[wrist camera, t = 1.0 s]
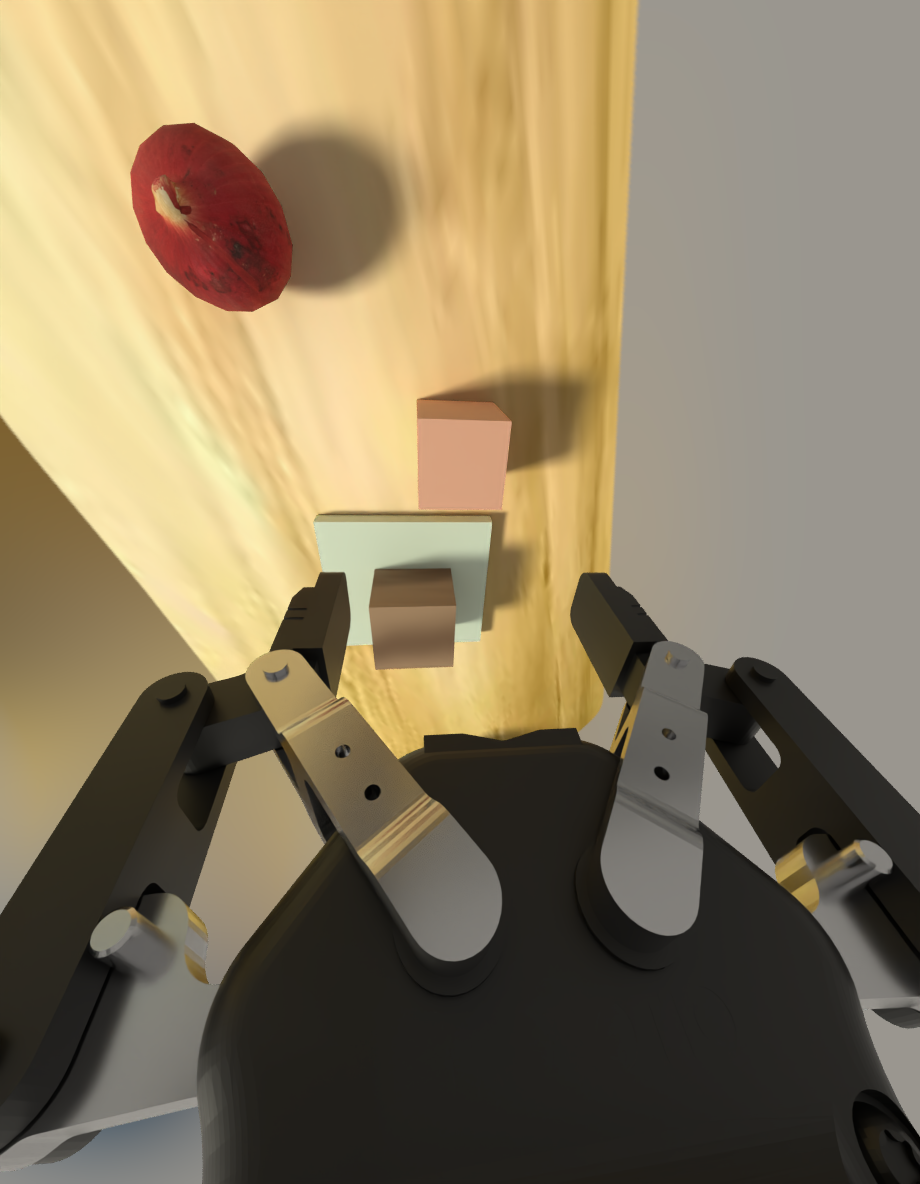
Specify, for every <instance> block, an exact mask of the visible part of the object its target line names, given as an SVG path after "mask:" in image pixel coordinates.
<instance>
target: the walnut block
mask: <svg viewBox="0 0 920 1184" xmlns="http://www.w3.org/2000/svg"><path fill="white" fill-rule="evenodd" d="M369 615H370V624H371V633H372V642H373V651H374V660H375V669H376V670H378V669H404V668H430V667H453V659H454V640H455V621H456V600H455V594H454V587H453V580H452V573H451V568H426V569H375V570H374V577H373V583H372V589H371V596H370V602H369Z"/></svg>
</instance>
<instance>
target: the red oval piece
mask: <svg viewBox="0 0 920 1184" xmlns="http://www.w3.org/2000/svg"><path fill="white" fill-rule="evenodd" d="M130 174H131V187H132V201H133V209H134V212H135V214H136V217H137V220H138V222H139V225H140V228H141V230H142V233H143V236H144V238H145V241H146V243H147V245H148V246H149V248H150V249H151V251H152V252H153V253H154V255H155V256H156V258H157V259H158V260H159V262H160V263H161V265H162V266H163V268H164V269H165V270H166V272H167V273H168V274H169V275H171V276H172V277H173V278H174V279H175V280H176V281H178V282H179V283H180V284H181V285H182V286H184V287H185V288H186V289H187V290H188V291H189V292H191V293H192V294H193V295H194V296H195V297H197V298H200V299H202V300H204V301H206V302H208V303H210V304H213V305H215V306H217V307H219V308H221V309H224V310H226V311H248V312H253V311H255V310H257V309H259V308H261V307H263V306H264V305H266V304H268V303H271V302H273V301H275V300H277V299H278V298H279V296H280V294H281V292H282V291H283V289H284V287H285V285H286V284H287V282H288V280H289V278H290V277H291V263H292V247H293V245H292V242H291V238H290V234H289V231H288V227H287V224H286V220H285V216H284V213H283V209H282V206H281V204H280V202H279V201H278V199H277V197H276V196H275V194H274V192H273V190H272V189H271V187H270V185H269V183H268V182H267V180H266V178H265V176H264V175H263V173H262V172H261V171H260V170H259V169H258V168H257V167H256V166H255V165H254V164H253V163H252V162H251V161H250V160H249V159H248V158H247V157H246V156H245V155H244V154H243V153H242V152H241V151H240V150H239V149H238V148H237V147H236V146H235V145H233V144H232V143H230V142H229V141H227V140H225V139H223V138H222V137H220V136H218V135H216V134H214V133H212V132H210V131H208V130H206V129H205V128H203V127H201V126H199V125H197V124H195V123H187V124H174V125H163V126H162V127H160V128H159V129H158V130H157V131H156V132H154V133H153V134H152V135H151V136H150V137H149V138H148V139H146V140H145V141H144V142H143V143H142V144H141V145H140V146H139V149H138V152H137V155H136V158H135V161H134V164H133V166H132V169H131V172H130Z"/></svg>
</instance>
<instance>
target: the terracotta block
mask: <svg viewBox="0 0 920 1184" xmlns="http://www.w3.org/2000/svg"><path fill="white" fill-rule="evenodd" d="M511 425H512V421H511V420H510V419H509V418H508V417H507V416H506V415H505V414H504V413H503V412H502V411H501V410H500V409H499V408H498V407H497V406H496V405H495V404H494V402H474V401H447V400H419V399H417V447H418V499H419V509H444V510H502V502H503V494H504V485H505V477H506V468H507V459H508V451H509V442H510V434H511Z"/></svg>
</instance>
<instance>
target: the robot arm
mask: <svg viewBox="0 0 920 1184" xmlns="http://www.w3.org/2000/svg"><path fill="white" fill-rule="evenodd" d="M570 616H571V623H572V626H573V628H574V630H575V631H576V633H577V635H578V637H579V639H580V641H581V643H582V645H583V647H584V649H585V651H586V653H587V655H588V657H589V659H590V661H591V663H592V664H593V666H594V668H595V670H596V672H597V674H598V676H599V678H600V680H601V682H602V684H603V686H604V688H605V690H606V692H607V694H608V695H609V697H625V699H626V704H625V706H624V708H623V710H622V714H621V717H620V720H619V723H618V726H617V729H616V732H615V735H614V738H613V742H612V745H611V748H610V751H608V750H606V749H604V748H602V747H600V746H598V745H595V744H592V743H589V742H586V741H581V740H580V737H579V734H578V732H577V729H576V728H566V729H545V730H538V731H534V732H531V733H528V734H525V735H522V736H518V737H515V738H512V739H509V740H504V741H501V740H495V739H490V738H484V737H479V736H473V735H468V734H444V735H424V748H421V749H418V750H415V751H413V752H411V753H409V754H406V755H405V756H403V757H401V758H400V759H397V758H396V757H395V756H394V754H393V753H392V752H391V751H390V750H389V748H388V747H387V746H386V745H385V744H384V742H383V741H382V740H381V739H380V738H379V736H378V735H377V734H376V733H375V732H374V730H373V729H372V728H371V727H370V725H369V724H368V723H367V722H366V721H365V719H364V718H363V717H362V716H361V715H360V713H359V712H358V711H357V710H356V709H355V707H354V706H353V705H352V704H351V703H350V702H349V700H347V699H346V698H344V697H342V698H340V699H337V698H336V695H337V690H338V685H339V680H340V675H341V670H342V665H343V660H344V655H345V650H346V646H347V641H348V636H349V631H350V624H351V611H350V603H349V595H348V587H347V580H346V575H345V572H320V574H319V577H318V580H317V582H316V585H315V587H304V588H302V589H301V590H300V591H299V592H298V593H297V594H296V595H295V596H293V597H292V600H291V602H290V604H289V607H288V610H287V611H286V614H285V616H284V620H283V621H282V623H281V625H280V628H279V630H278V632H277V635H276V637H275V639H274V642H273V644H272V646H271V649H270V651H269V653H266V654H264V655H262V656H260V657H258V658H257V659H256V660H254V661H253V662H252V663H251V664H250V666H249V667H248V669H247V671H246V673H244V674H242V675H239V676H236V677H232V678H229V679H225V680H221V681H217V682H213V683H209V684H208V682H207V680H206V678H205V677H204V676H202V675H201V674H198V673H194V672H182V673H177V674H173V675H170V676H167V677H165V678H162V679H160V680H158V681H156V682H155V683H153V684H152V685H151V686H149V687H148V688H147V689H146V690H145V691H144V692H143V693H142V694H141V695H140V697H139V698H138V700H137V702H136V703H135V705H134V706H133V708H132V709H131V711H130V712H129V714H128V715H127V717H126V719H125V720H124V722H123V723H122V725H121V727H120V728H119V730H118V731H117V733H116V734H115V736H114V738H113V739H112V741H111V742H110V744H109V745H108V747H107V749H106V750H105V752H104V753H103V755H102V756H101V758H100V759H99V761H98V763H97V764H96V766H95V767H94V769H93V770H92V772H91V774H90V775H89V777H88V779H87V780H86V781H85V783H84V785H83V786H82V788H81V789H80V791H79V792H78V794H77V795H76V797H75V799H74V800H73V802H72V803H71V805H70V806H69V808H68V810H67V811H66V813H65V814H64V816H63V818H62V819H61V821H60V822H59V824H58V825H57V827H56V828H55V830H54V832H53V833H52V835H51V836H50V838H49V839H48V841H47V843H46V844H45V846H44V847H43V849H42V850H41V852H40V854H39V855H38V857H37V858H36V860H35V862H34V863H33V865H32V866H31V868H30V869H29V871H28V873H27V874H26V875H25V877H24V879H23V880H22V882H21V884H20V885H19V886H18V888H17V890H16V891H15V893H14V894H13V896H12V898H11V899H10V901H9V902H8V904H7V905H6V907H5V908H4V910H3V912H2V913H1V915H0V1172H8V1171H15V1170H19V1169H23V1168H25V1167H27V1166H29V1165H33V1164H46V1163H54V1162H57V1161H61V1160H63V1159H65V1158H68V1157H70V1156H71V1155H73V1154H75V1153H76V1152H78V1151H79V1150H81V1149H82V1148H83V1147H84V1146H85V1145H87V1144H88V1143H89V1142H90V1141H91V1140H92V1139H93V1138H94V1137H95V1136H96V1135H97V1134H98V1133H99V1132H100V1131H101V1130H102V1129H105V1128H109V1127H113V1126H117V1125H122V1124H125V1123H130V1122H134V1121H138V1120H142V1119H146V1118H151V1117H155V1116H159V1115H163V1114H167V1113H172V1112H175V1111H180V1110H184V1109H188V1108H193V1107H196V1106H198V1109H199V1116H200V1124H201V1133H202V1148H203V1180H202V1184H920V1136H919V1135H918V1133H917V1132H916V1130H915V1129H914V1127H913V1126H912V1124H911V1123H910V1121H909V1119H908V1118H907V1116H906V1114H905V1113H904V1111H903V1109H902V1107H901V1105H900V1103H899V1101H898V1099H897V1097H896V1095H895V1093H894V1091H893V1089H892V1087H891V1084H890V1082H889V1080H888V1078H887V1076H886V1074H885V1072H884V1070H883V1067H882V1064H881V1062H880V1060H879V1057H878V1055H877V1052H876V1050H875V1048H874V1045H873V1042H872V1039H871V1037H870V1034H869V1031H868V1028H867V1025H866V1022H865V1018H864V1014H863V1011H862V1009H872V1010H873V1011H874V1012H875V1013H876V1014H878V1015H879V1016H880V1017H882V1018H883V1019H885V1020H886V1021H888V1022H890V1023H892V1024H894V1025H897V1026H899V1027H903V1028H916V1027H920V814H919V813H918V812H917V811H916V810H915V809H914V808H913V807H912V806H911V805H910V804H909V803H908V802H907V801H906V800H905V799H904V798H903V797H902V796H901V795H900V794H899V792H898V791H897V790H896V789H895V788H893V786H892V785H891V784H890V783H889V782H888V781H887V780H886V779H885V778H884V777H883V776H882V775H881V774H880V773H879V772H878V771H877V770H876V769H875V767H874V766H872V764H871V763H870V762H869V761H868V760H867V759H866V758H865V757H864V756H863V755H862V754H861V753H860V752H859V751H858V750H857V749H856V748H855V747H854V746H853V745H852V744H851V743H850V742H849V740H848V739H847V738H845V736H844V735H843V734H842V733H841V732H840V731H839V730H838V729H837V728H836V727H835V726H834V725H833V724H832V723H831V722H830V721H829V720H828V719H827V718H826V717H825V716H824V715H823V714H822V712H821V711H820V710H819V709H817V707H816V706H815V705H814V704H813V703H812V702H811V701H810V700H809V699H808V698H807V697H806V696H805V695H804V694H803V693H802V692H801V691H800V690H799V689H798V687H797V686H795V684H794V683H793V682H792V681H791V680H790V679H789V678H788V677H787V676H786V675H785V674H784V673H783V672H781V671H780V670H779V669H777V668H776V667H774V666H773V665H771V664H769V663H767V662H764V661H761V660H759V659H755V658H749V657H742V658H739V659H737V660H736V661H735V662H734V664H733V665H732V667H731V668H730V669H727V668H722V667H718V666H713V665H708V664H704V662H703V660H702V659H701V658H700V656H699V655H698V654H696V653H695V652H694V651H693V650H691V649H690V648H688V647H686V646H684V645H682V644H679V643H675V642H671V641H668V640H667V639H666V637H665V636H664V635H663V634H662V632H661V631H660V630H659V629H658V627H657V626H656V625H655V623H654V622H653V621H652V620H651V618H650V617H649V616H648V615H646V612H645V611H644V609H643V608H642V607H640V604H639V603H638V602H637V600H636V599H635V598H634V597H633V595H631V594H630V593H628V592H627V591H625V590H624V589H623V588H621V587H617V586H616V585H615V584H614V582H613V581H612V580H611V578H610V577H609V576H608V574H606V573H583V574H582V575H581V576H580V579H579V582H578V586H577V589H576V593H575V596H574V600H573V603H572V606H571V612H570ZM760 728H762V730H763V731H764V732H765V733H766V735H767V736H768V737H769V739H770V740H771V741H772V742H773V743H774V745H775V746H776V748H777V749H778V751H779V754H780V757H781V764H780V767H779V768H777V767H776V765H775V764H774V763H773V761H772V760H771V758H770V757H769V756H768V754H767V753H766V752H765V750H764V749H763V748H762V746H761V745H760V744H759V742H758V741H757V740H756V738H755V737H754V735H755V734H756V733H757V732H758V731H759V729H760ZM270 750H273V751H274V753H275V755H276V756H277V758H278V760H279V762H280V763H281V765H282V767H283V769H284V770H285V772H286V774H287V775H288V777H289V779H290V780H291V782H292V784H293V786H294V788H295V789H296V791H297V793H298V794H299V796H300V798H301V800H302V802H303V804H304V806H305V808H306V810H307V812H308V815H309V817H310V819H311V821H312V823H313V825H314V826H315V828H316V830H317V832H318V834H319V835H320V837H321V839H322V841H323V842H324V844H325V845H324V846H323V848H322V849H321V850H320V851H319V853H318V854H317V855H316V856H315V858H314V859H313V860H312V861H311V863H310V864H309V865H308V866H307V868H306V869H305V870H304V871H303V873H302V874H301V875H300V876H299V878H298V879H297V880H296V881H295V883H294V884H293V885H292V886H291V888H290V889H289V890H288V891H287V893H286V894H285V895H284V896H283V898H282V899H281V900H280V902H279V903H278V904H277V905H276V906H275V908H274V909H273V910H272V911H271V913H270V914H269V915H268V917H267V918H266V919H265V920H264V921H263V923H262V924H261V925H260V926H259V928H258V929H257V930H256V932H255V933H254V934H253V935H252V936H251V938H250V939H249V940H248V941H247V943H246V944H245V945H244V947H243V948H242V949H241V951H240V952H239V953H238V955H237V956H236V958H235V959H234V961H233V962H232V964H231V966H230V967H229V969H228V971H227V973H226V974H225V976H224V978H223V980H222V982H221V984H217V985H211V984H209V982H208V980H207V976H206V971H205V961H206V954H207V948H208V933H207V929H206V926H205V924H204V922H203V921H202V920H201V919H200V918H199V917H198V916H197V915H196V914H195V913H194V912H193V911H192V910H191V909H190V908H189V907H190V904H191V900H192V898H193V894H194V891H195V888H196V885H197V882H198V879H199V876H200V873H201V870H202V867H203V864H204V861H205V857H206V855H207V851H208V848H209V845H210V842H211V839H212V836H213V833H214V830H215V827H216V824H217V821H218V818H219V815H220V812H221V809H222V806H223V803H224V800H225V797H226V794H227V790H228V788H229V784H230V781H231V778H232V775H233V772H234V769H235V766H236V763H237V761H240V760H243V759H246V758H249V757H252V756H255V755H258V754H261V753H264V752H267V751H270ZM705 750H706V752H707V754H708V755H709V757H710V758H711V760H712V762H713V763H714V765H715V767H716V768H717V770H718V772H719V773H720V775H721V776H722V778H723V780H724V781H725V783H726V784H727V786H728V788H729V790H730V791H731V793H732V794H733V796H734V798H735V799H736V801H737V803H738V804H739V806H740V807H741V809H742V811H743V813H744V814H745V816H746V817H747V819H748V821H749V822H750V824H751V826H752V827H753V829H754V831H755V832H756V834H757V835H758V837H759V839H760V840H761V842H762V844H763V845H764V847H765V849H766V850H767V852H768V853H769V855H770V857H771V858H772V860H773V862H774V863H775V865H776V866H775V873H776V879H777V881H775V880H774V879H773V878H771V877H770V876H769V875H767V874H766V873H765V872H764V871H763V870H761V869H760V868H759V867H758V866H756V865H755V864H754V863H752V862H751V861H750V860H749V859H747V858H746V857H745V856H744V855H742V854H741V853H740V852H739V851H737V850H736V849H735V848H734V847H732V846H731V845H730V844H729V843H727V842H726V841H725V840H723V839H722V838H721V837H719V836H718V835H717V834H716V833H715V832H713V831H712V830H711V829H710V828H708V827H707V826H706V825H704V824H703V823H702V822H701V821H699V813H700V802H701V791H702V780H703V779H702V778H703V768H704V757H705Z"/></svg>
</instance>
